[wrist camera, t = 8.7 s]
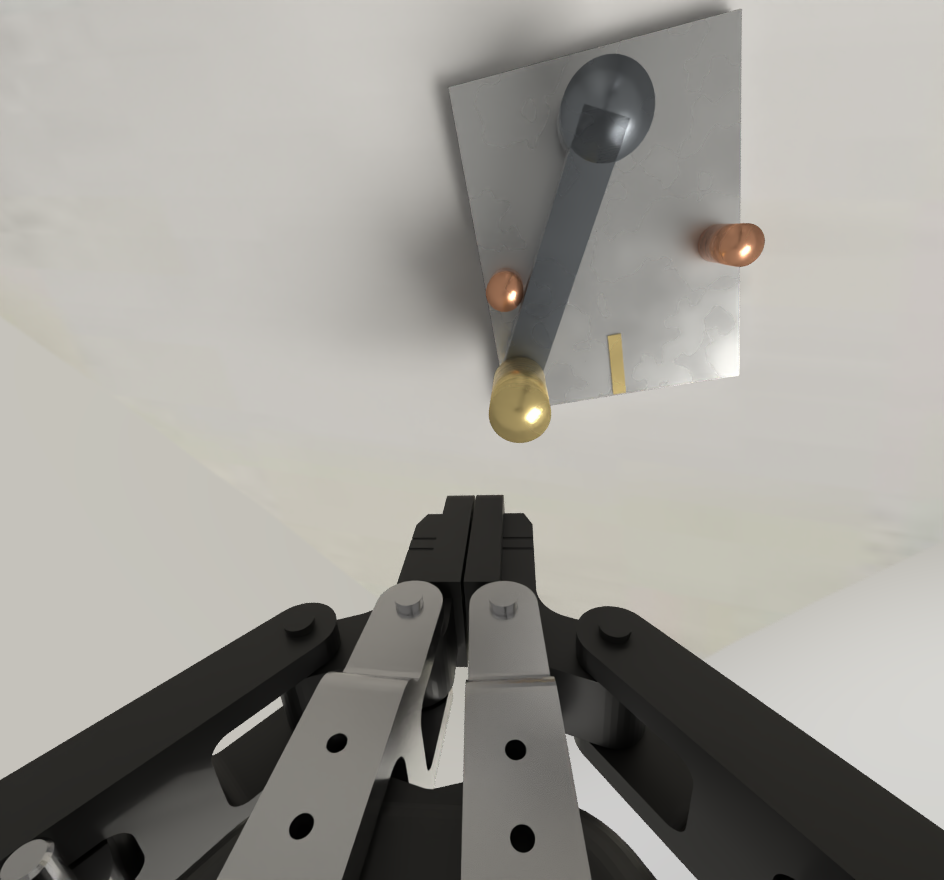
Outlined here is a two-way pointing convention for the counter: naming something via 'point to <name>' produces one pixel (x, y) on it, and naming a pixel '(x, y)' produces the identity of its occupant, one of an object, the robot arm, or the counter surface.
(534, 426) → the crank lever
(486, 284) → the crank base
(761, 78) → the counter surface
